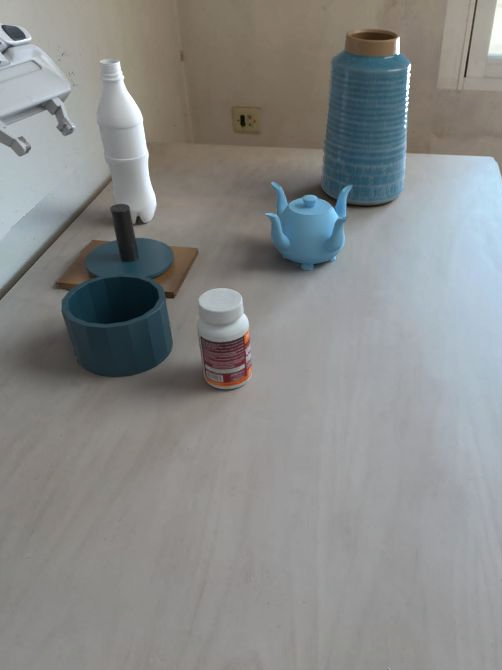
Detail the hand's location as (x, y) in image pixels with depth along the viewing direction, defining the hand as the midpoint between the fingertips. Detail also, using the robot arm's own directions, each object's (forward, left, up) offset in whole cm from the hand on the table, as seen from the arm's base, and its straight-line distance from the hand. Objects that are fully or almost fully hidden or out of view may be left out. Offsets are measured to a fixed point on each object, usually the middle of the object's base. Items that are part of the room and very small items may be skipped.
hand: (49, 142), depth 89 cm
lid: (+10, -2, -16) cm, 19 cm away
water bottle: (+4, +16, -18) cm, 24 cm away
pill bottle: (+30, -26, -18) cm, 44 cm away
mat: (+9, -2, -18) cm, 21 cm away
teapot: (+36, +7, -18) cm, 41 cm away
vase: (+43, +35, -18) cm, 59 cm away
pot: (+15, -22, -18) cm, 33 cm away
